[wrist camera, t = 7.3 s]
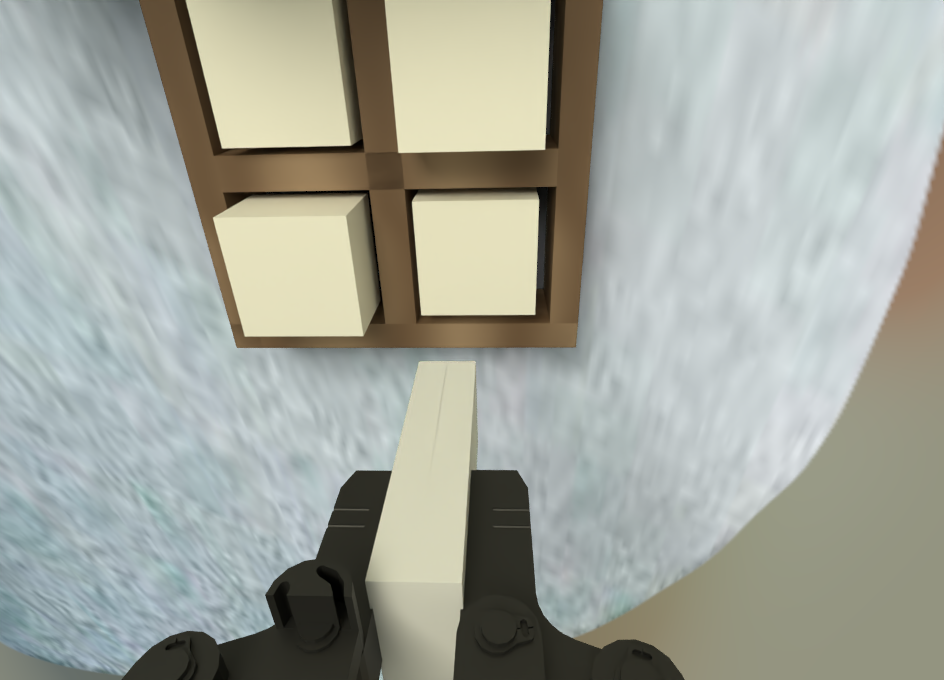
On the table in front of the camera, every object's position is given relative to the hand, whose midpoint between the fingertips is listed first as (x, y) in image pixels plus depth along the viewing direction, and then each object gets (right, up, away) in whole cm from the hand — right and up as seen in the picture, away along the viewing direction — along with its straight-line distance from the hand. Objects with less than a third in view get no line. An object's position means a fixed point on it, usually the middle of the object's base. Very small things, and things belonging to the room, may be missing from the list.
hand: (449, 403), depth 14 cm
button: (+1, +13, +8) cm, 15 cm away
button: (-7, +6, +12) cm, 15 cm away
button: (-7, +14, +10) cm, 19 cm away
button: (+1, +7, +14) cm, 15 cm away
